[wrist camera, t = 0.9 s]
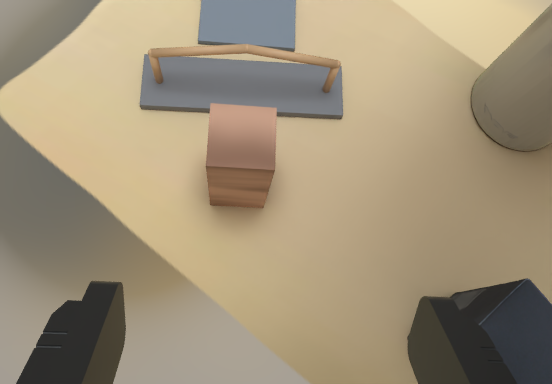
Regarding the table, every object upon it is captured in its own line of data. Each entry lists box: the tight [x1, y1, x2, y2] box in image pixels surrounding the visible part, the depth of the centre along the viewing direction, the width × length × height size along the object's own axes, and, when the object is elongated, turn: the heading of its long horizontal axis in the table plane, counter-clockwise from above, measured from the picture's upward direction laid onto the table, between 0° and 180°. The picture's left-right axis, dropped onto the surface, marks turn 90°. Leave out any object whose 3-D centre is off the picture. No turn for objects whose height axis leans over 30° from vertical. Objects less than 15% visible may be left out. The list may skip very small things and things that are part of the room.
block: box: [206, 103, 277, 208], centre depth 37 cm, size 4×4×10 cm
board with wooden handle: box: [140, 44, 343, 119], centre depth 41 cm, size 5×18×7 cm, turn 90°
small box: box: [408, 279, 552, 384], centre depth 34 cm, size 11×6×10 cm, turn 39°
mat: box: [198, 0, 296, 51], centre depth 46 cm, size 9×9×1 cm
